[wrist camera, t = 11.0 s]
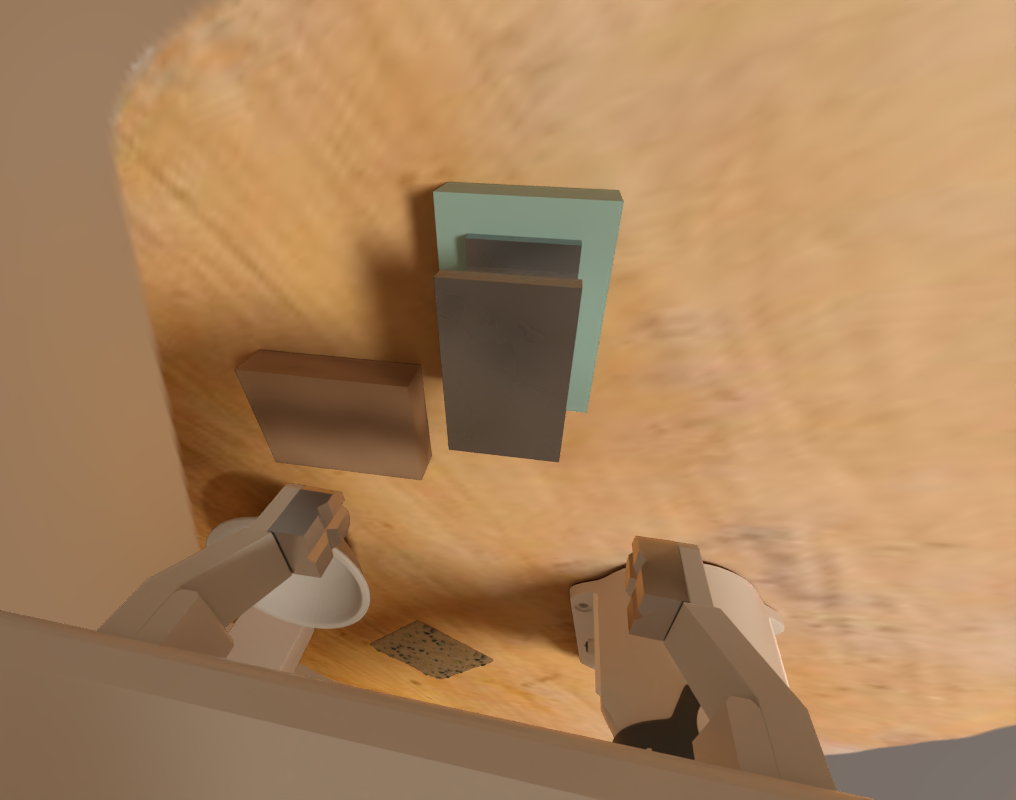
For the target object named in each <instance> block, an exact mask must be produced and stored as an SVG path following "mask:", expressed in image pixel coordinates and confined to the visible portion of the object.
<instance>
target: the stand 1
mask: <svg viewBox="0 0 1016 800" xmlns="http://www.w3.org/2000/svg"><path fill="white" fill-rule="evenodd" d="M235 372H236V374H237V376H238V379H239V381H240V383H241V385H242V388H243V390H244V392H245V394H246V396H247V399H248V401H249V403H250V405H251V408H252V410H253V412H254V414H255V417H256V419H257V421H258V423H259V426H260V428H261V430H262V432H263V434H264V437H265V439H266V441H267V443H268V446H269V448H270V450H271V452H272V455H273V457H274V459H275V461H276V462H278V463H286V464H294V465H302V466H310V467H319V468H327V469H335V470H343V471H351V472H359V473H367V474H375V475H383V476H391V477H399V478H407V479H415V480H422V478H423V476H424V474H425V471H426V469H427V466H428V464H429V461H430V459H431V457H432V452H431V444H430V436H429V428H428V420H427V412H426V404H425V396H424V388H423V380H422V372H421V365H415V364H404V363H394V362H384V361H373V360H363V359H352V358H342V357H331V356H321V355H311V354H300V353H290V352H279V351H269V350H259V351H258V352H256V353H255V354H254V355H252V356H251V357H250V358H249V359H247V360H246V361H245V362H244V363H242V364H241V365H240V366H238V367H237V368H236V369H235Z"/></svg>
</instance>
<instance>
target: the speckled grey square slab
mask: <svg viewBox="0 0 1016 800" xmlns="http://www.w3.org/2000/svg"><path fill="white" fill-rule="evenodd" d="M370 645H371V646H373V647H375V648H376V650H377V651H379V652H380V651H381V652H383V653H385V654H387V655H388V656H389V657H393V658H396V659H398V660H400V661H402V662H405V663H406V664H409V665H410V666H412V667H415V668H416V669H417V670H419V671H421V672H422V673H424V674H425V675H426V676H427V675H430V676H432V677H435V678H437V679H444V678H449V677H450V676H453V675H455V674H458V673H462V672H464V671H467V670H470V669H472V668H475V667H479V666H485V665H486V664H487V663H491V662H492V661H493V659H491V658H490V657H488V656H486V655H484V654H482V653H480V652H478V651H476V650H474V649H472V648H471V647H469V646H467V645H465V644H463V643H461V642H459V641H457V640H455V639H453V638H451V637H449V636H448V635H445V634H444V633H442V632H440V631H438V630H436V629H434V628H432V627H430V626H428V625H426V624H424V623H422V622H420V621H418V620H417V621H415V622H412V623H410V624H408V625H406V626H404V627H402V628H400V629H399V630H397V631H394V632H393V633H391V634H389V635H387V636H384V637H383V638H381V639H378V640H377V641H375V642H373V643H370Z"/></svg>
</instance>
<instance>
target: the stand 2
mask: <svg viewBox="0 0 1016 800" xmlns="http://www.w3.org/2000/svg"><path fill="white" fill-rule="evenodd" d="M433 197H434V210H435V223H436V235H437V248H438V260H439V270H440V269H443V270H457V271H463V270H464V269H465V267H466V244H465V238H466V237H467V236H468V234H469V233H472V234H488V235H505V236H521V237H537V238H553V239H569V240H582V250H581V258H580V265H579V273H578V279H582V285H583V288H582V296H581V303H580V311H579V318H578V325H577V333H576V340H575V347H574V355H573V362H572V369H571V377H570V384H569V392H568V399H567V406H566V411H576V412H586V413H587V408H588V402H589V397H590V391H591V385H592V379H593V374H594V368H595V362H596V356H597V351H598V345H599V339H600V334H601V328H602V322H603V316H604V311H605V305H606V299H607V294H608V288H609V282H610V276H611V271H612V265H613V259H614V254H615V248H616V242H617V236H618V231H619V225H620V219H621V214H622V208H623V202H624V201H623V199H622V196H621V194H620V192H619V190H602V189H582V188H562V187H541V186H521V185H501V184H481V183H460V182H447V183H446V184H444V185H442V186H441V187H439V188H438V189H436V190H435V191H433Z"/></svg>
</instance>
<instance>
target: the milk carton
mask: <svg viewBox="0 0 1016 800" xmlns="http://www.w3.org/2000/svg"><path fill="white" fill-rule="evenodd" d="M313 633H314V628H311V627H305V626H300V625H296V624H292V623H289V622H286V621H283V620H280V619H278V618H275V617H273V616H271V615H268V614H266V613H264V612H262V611H260V610H258V609H257V608H255V607H253V606H252V607H251V608H250V609H248V610H247V611H246V612H244V613H243V614H242V615H241V616H239V618H238V619H237V621H236V622H235V624H234V625H233V627H232V628H231V630H230V631H229V633H228V634H229V635H230V636H231V638H232V639H233V640H234V647H233V648H232V650H231V651H230V653H229V654H228V656H227V657H226V659H229V660H234V661H238V662H243V663H248V664H252V665H257V666H261V667H266V668H271V669H275V670H280V671H285V672H289V673H294V671H295V669H296V667H297V665H298V663H299V661H300V659H301V657H302V655H303V653H304V651H305V649H306V647H307V645H308V643H309V641H310V639H311V637H312V635H313Z"/></svg>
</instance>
